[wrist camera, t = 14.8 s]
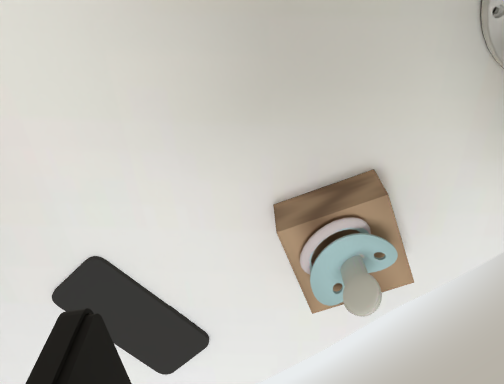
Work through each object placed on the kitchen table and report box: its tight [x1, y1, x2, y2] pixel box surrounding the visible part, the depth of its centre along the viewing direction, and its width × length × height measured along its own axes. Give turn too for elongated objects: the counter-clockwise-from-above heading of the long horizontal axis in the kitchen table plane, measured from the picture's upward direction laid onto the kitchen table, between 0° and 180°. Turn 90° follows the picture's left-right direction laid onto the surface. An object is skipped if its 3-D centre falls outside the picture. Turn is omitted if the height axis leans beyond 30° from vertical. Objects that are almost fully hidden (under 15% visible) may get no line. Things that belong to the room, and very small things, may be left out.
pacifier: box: [300, 217, 398, 316], centre depth 36 cm, size 7×6×6 cm
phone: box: [52, 256, 209, 375], centre depth 47 cm, size 7×1×15 cm
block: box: [274, 170, 414, 314], centre depth 41 cm, size 9×9×5 cm
